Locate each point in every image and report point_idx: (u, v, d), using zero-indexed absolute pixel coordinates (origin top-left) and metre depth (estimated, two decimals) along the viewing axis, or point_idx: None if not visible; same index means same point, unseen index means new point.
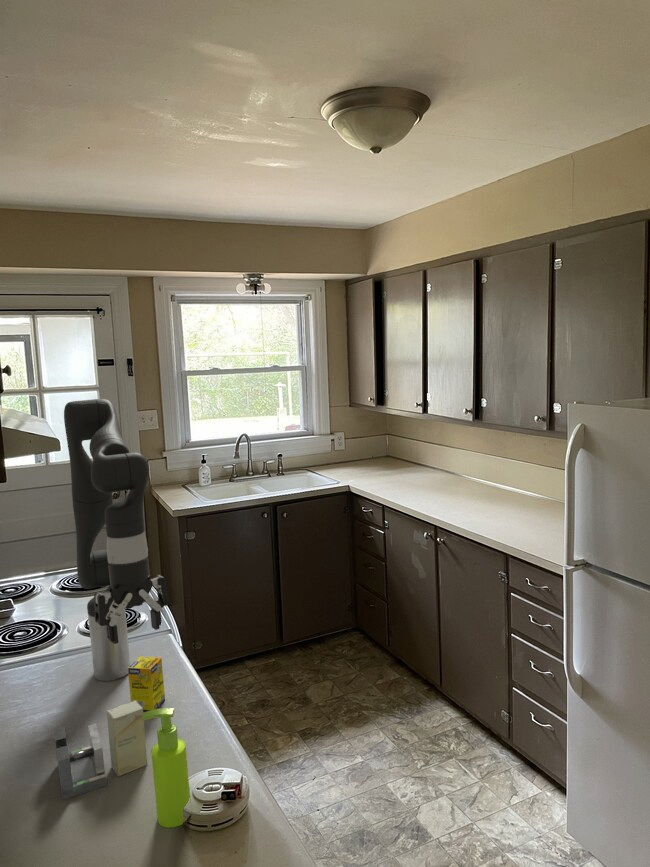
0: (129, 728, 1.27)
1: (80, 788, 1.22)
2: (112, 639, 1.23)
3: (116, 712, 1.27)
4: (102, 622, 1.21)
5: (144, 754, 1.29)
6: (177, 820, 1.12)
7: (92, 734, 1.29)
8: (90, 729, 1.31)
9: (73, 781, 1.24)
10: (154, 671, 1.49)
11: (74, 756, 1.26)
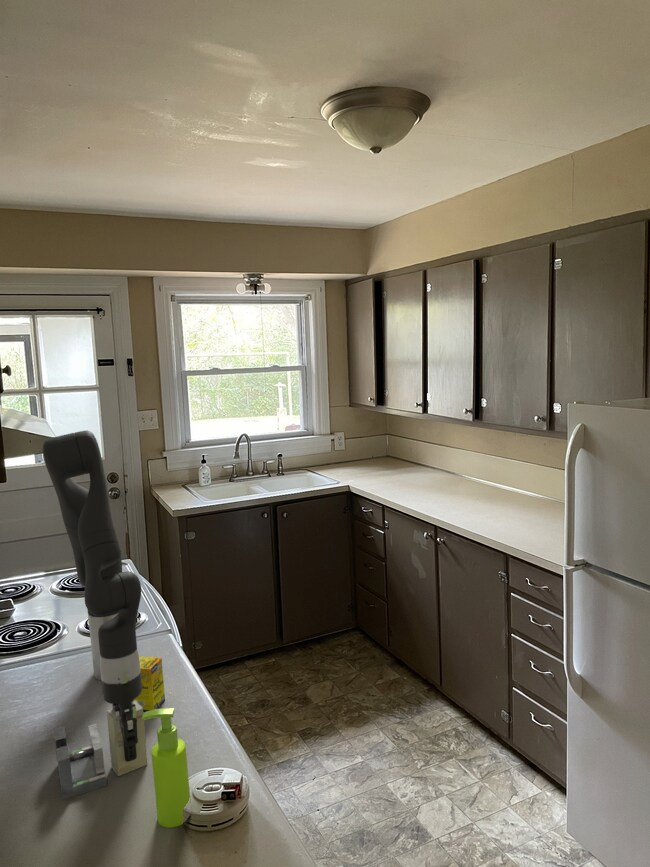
0: None
1: (80, 788, 1.22)
2: None
3: None
4: (137, 739, 1.25)
5: (144, 754, 1.29)
6: (177, 820, 1.12)
7: (92, 734, 1.29)
8: (90, 729, 1.31)
9: (73, 781, 1.24)
10: (154, 671, 1.49)
11: (74, 756, 1.26)
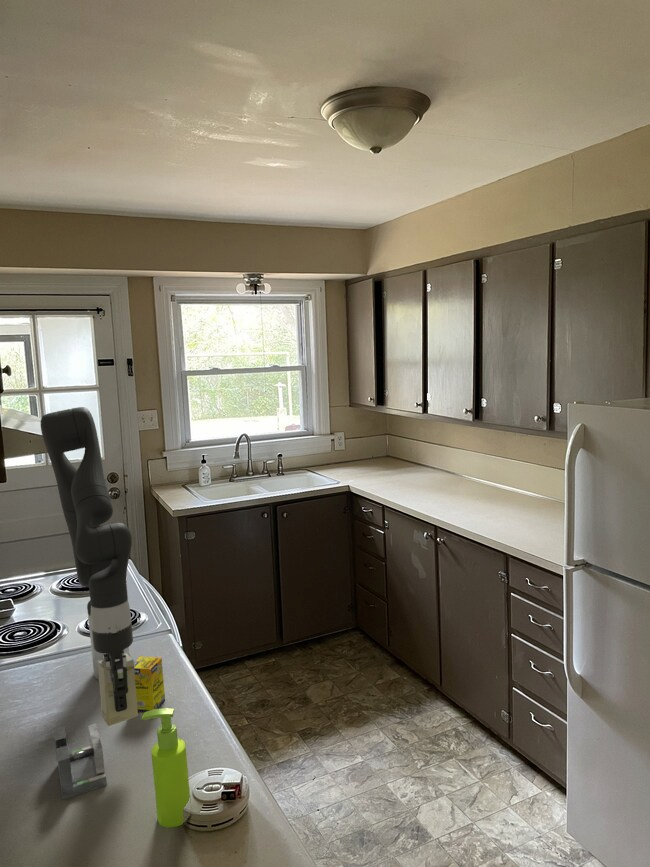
0: None
1: (80, 788, 1.22)
2: None
3: None
4: (127, 688, 1.25)
5: (135, 705, 1.30)
6: (177, 820, 1.12)
7: (92, 734, 1.29)
8: (90, 729, 1.31)
9: (73, 781, 1.24)
10: (154, 671, 1.49)
11: (74, 756, 1.26)
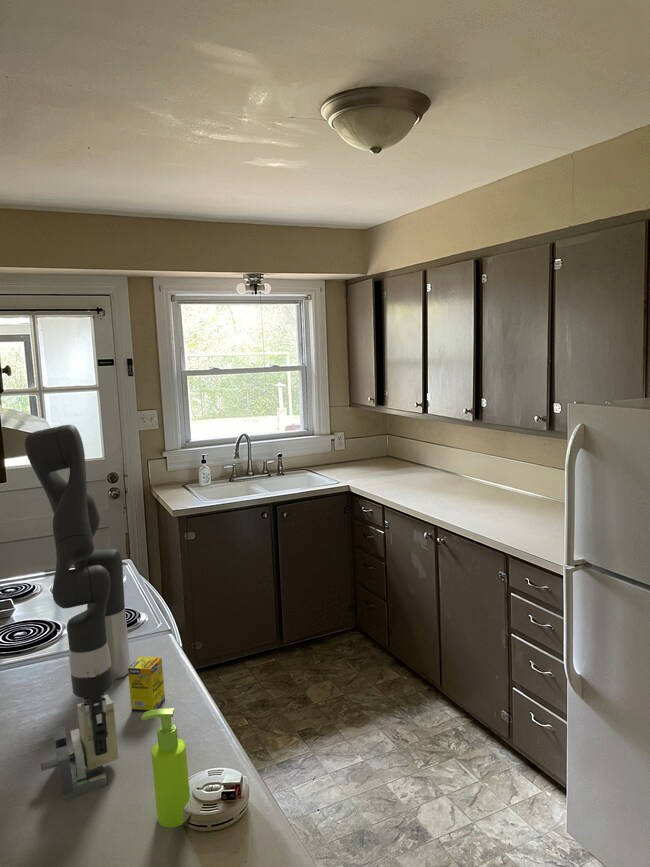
0: None
1: (80, 788, 1.22)
2: (105, 749, 1.26)
3: None
4: (107, 733, 1.24)
5: (115, 748, 1.28)
6: (177, 820, 1.12)
7: (74, 739, 1.27)
8: (72, 734, 1.29)
9: (73, 781, 1.24)
10: (154, 671, 1.49)
11: (55, 762, 1.25)
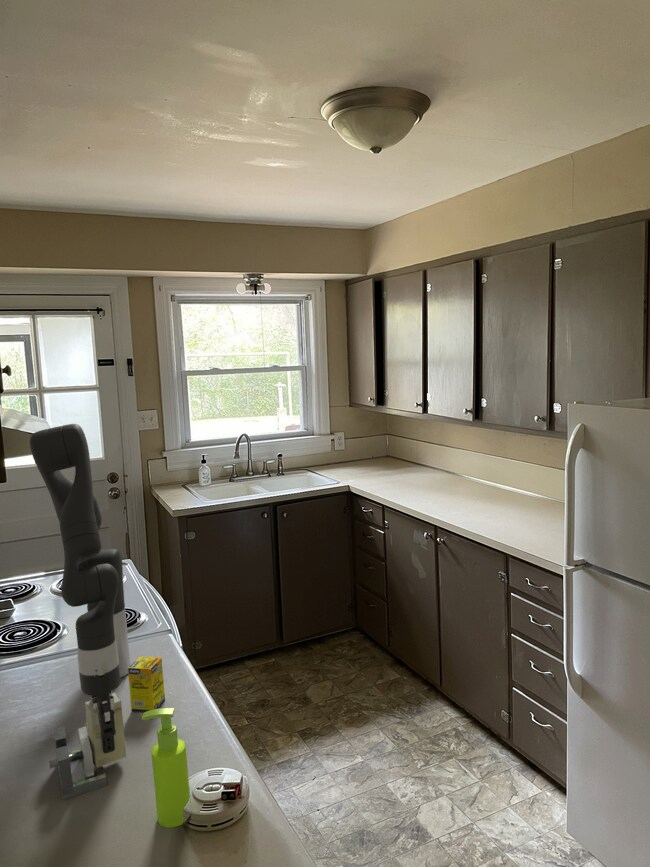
0: None
1: (80, 788, 1.22)
2: (112, 746, 1.27)
3: None
4: (115, 730, 1.25)
5: (123, 746, 1.29)
6: (177, 820, 1.12)
7: (82, 737, 1.28)
8: (80, 732, 1.30)
9: (73, 781, 1.24)
10: (154, 671, 1.49)
11: None
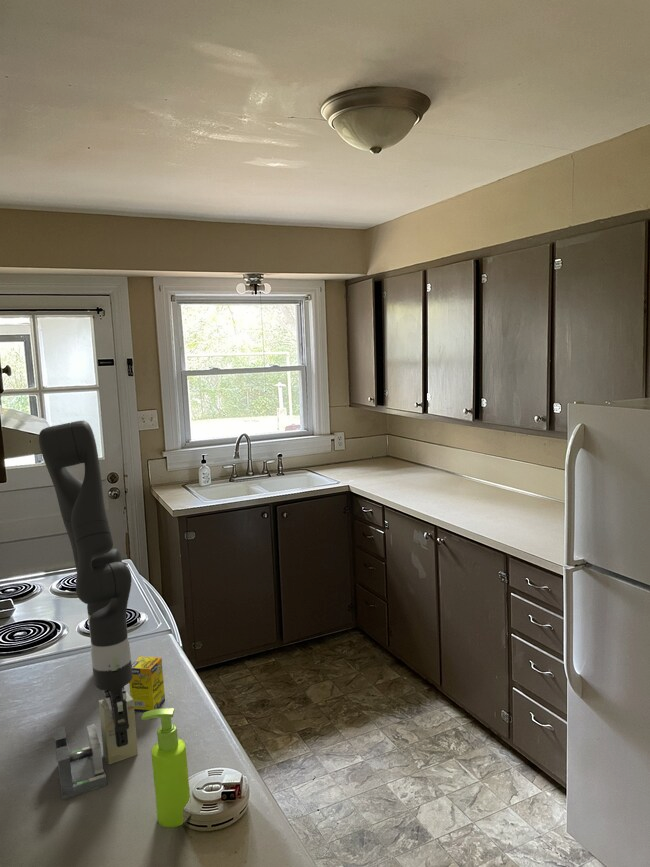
0: None
1: (80, 788, 1.22)
2: None
3: None
4: (128, 724, 1.27)
5: (135, 744, 1.33)
6: (177, 820, 1.12)
7: (91, 734, 1.29)
8: (89, 729, 1.31)
9: (73, 781, 1.24)
10: (154, 671, 1.49)
11: (73, 757, 1.26)
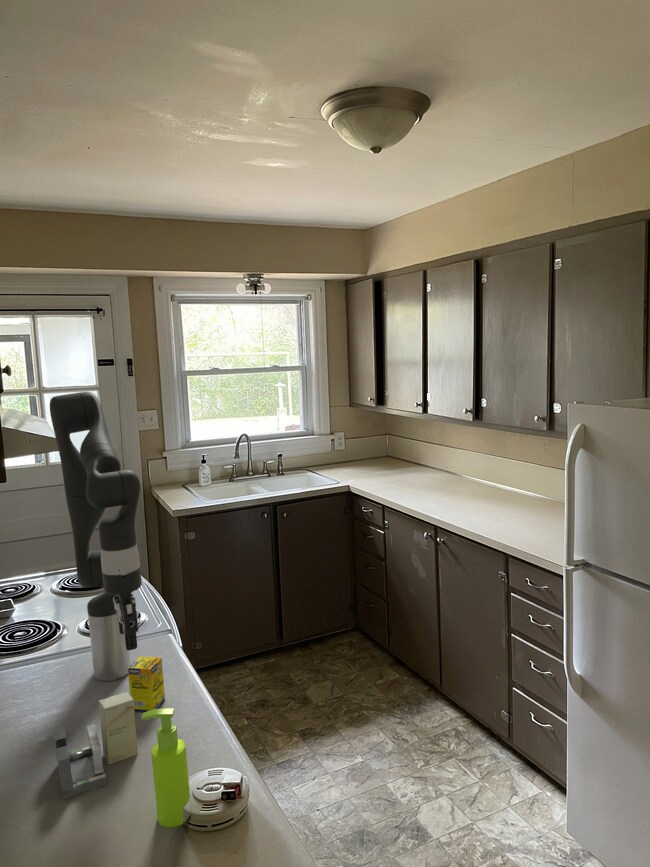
0: (120, 718, 1.31)
1: (80, 788, 1.22)
2: None
3: (107, 702, 1.31)
4: (137, 627, 1.29)
5: (135, 744, 1.33)
6: (177, 820, 1.12)
7: (91, 734, 1.29)
8: (89, 729, 1.31)
9: (73, 781, 1.24)
10: (154, 671, 1.49)
11: (73, 757, 1.26)
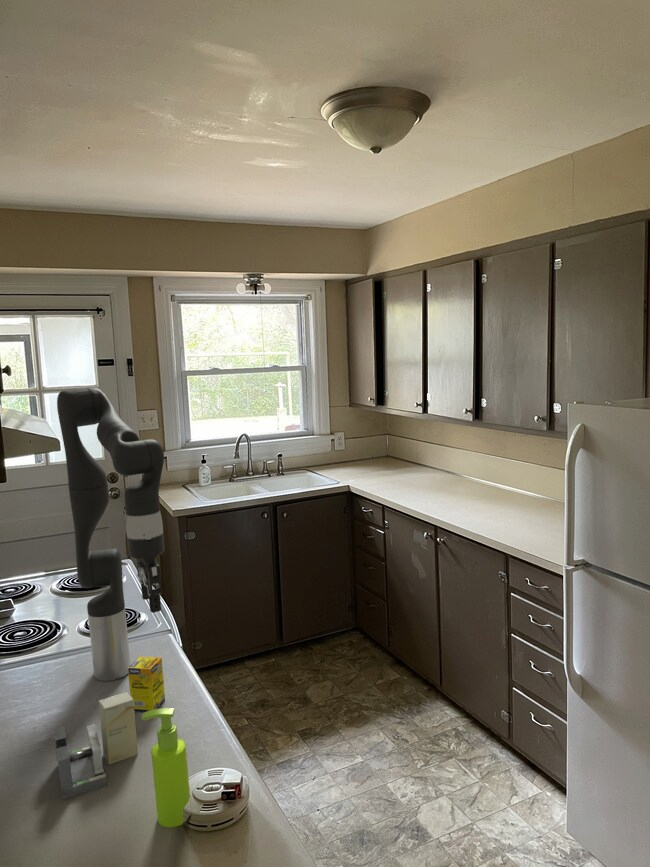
0: (120, 718, 1.31)
1: (80, 788, 1.22)
2: None
3: (107, 702, 1.31)
4: (162, 590, 1.34)
5: (135, 744, 1.33)
6: (177, 820, 1.12)
7: (91, 734, 1.29)
8: (89, 729, 1.31)
9: (73, 781, 1.24)
10: (154, 671, 1.49)
11: (73, 757, 1.26)
